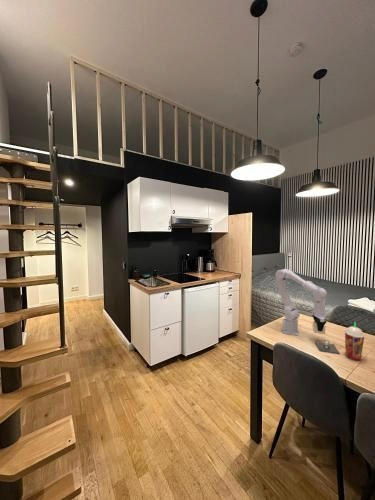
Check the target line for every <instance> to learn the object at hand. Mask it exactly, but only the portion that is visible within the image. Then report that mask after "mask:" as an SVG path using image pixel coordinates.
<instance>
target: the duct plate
mask: <svg viewBox="0 0 375 500" xmlns="http://www.w3.org/2000/svg"><path fill="white" fill-rule="evenodd" d="M314 343H315V346H316V347H317V350H318V351H319V352H321V353H322V352H323V353H330V354H334V355H340V351H339V350H338V349H337V347H336V345H335V344H334V343H331V341H330V340H328V339H327V340H326V339H325V340H323V342H320V341H314Z"/></svg>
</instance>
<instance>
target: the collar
mask: <svg viewBox="0 0 375 500" xmlns="http://www.w3.org/2000/svg"><path fill="white" fill-rule="evenodd" d="M312 331H313V333H315V334H320V335H326V324H325V325H324V327H323V330H322V331H318V329H317V323H316V322H314V321H312Z"/></svg>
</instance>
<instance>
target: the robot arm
mask: <svg viewBox="0 0 375 500" xmlns="http://www.w3.org/2000/svg"><path fill="white" fill-rule="evenodd" d="M274 275H275V285H276V287H277V290H278V292H279V295H280V297H281V300H282V302H283V305H284V309H283V312H284V318H282V325H281V326H282V327H281V328H282V332H283V334H286V335H291V336H292V335H293V336H299V335H300V334H299V332H298V331H299V330H298V328H299V327H298V326H299V325H298V324H299V317H300V315H301V313H300V311H299V310H298V309H297V307H296V306H295V305H294V303H293V301H292V298H291V296H290V294H289V291H288V288H287V287H286V284H285V283H286V281H287V279H289V280H290V279H291V280H293V281H294V282H296V283H298V284H299V285H301V286H302V288H303V289H304V290H306V291H307V292H309V293H310V294H312V295H313V298H314V300H313V314H312V318H313V322H316V323H317V329H318V331H322V330H323V327H324V325H325V326H326V324H327V320H325V318H327V317H328V315H326V313H325V311H326V296H327V294H328V292H327V290H326V289H325V288H324V287H320V286H318V285H316V284H314V283H313V281H312V280H311V281H310V280H304V279H303V278H302V277H301V276H299V275H297V274H296V273H295V272H294V271H292V270H290V269H289V268H283V269H278V270H276V272H275V274H274Z"/></svg>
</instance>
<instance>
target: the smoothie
mask: <svg viewBox="0 0 375 500" xmlns="http://www.w3.org/2000/svg"><path fill="white" fill-rule="evenodd" d="M353 323H354V324H353V326H348V327H347V328H346V329H345V330H344V338H345V339H344V343H345V344H344V345H345V350H344V351H345V355H346V357H347V358H349V359H350V360H353V361H360V360H361V359H362V355H363V347H364V341H365V334H364V332H363V331H362V330H361V328H359V327H358V326H357V323H356V321H354V322H353Z"/></svg>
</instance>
